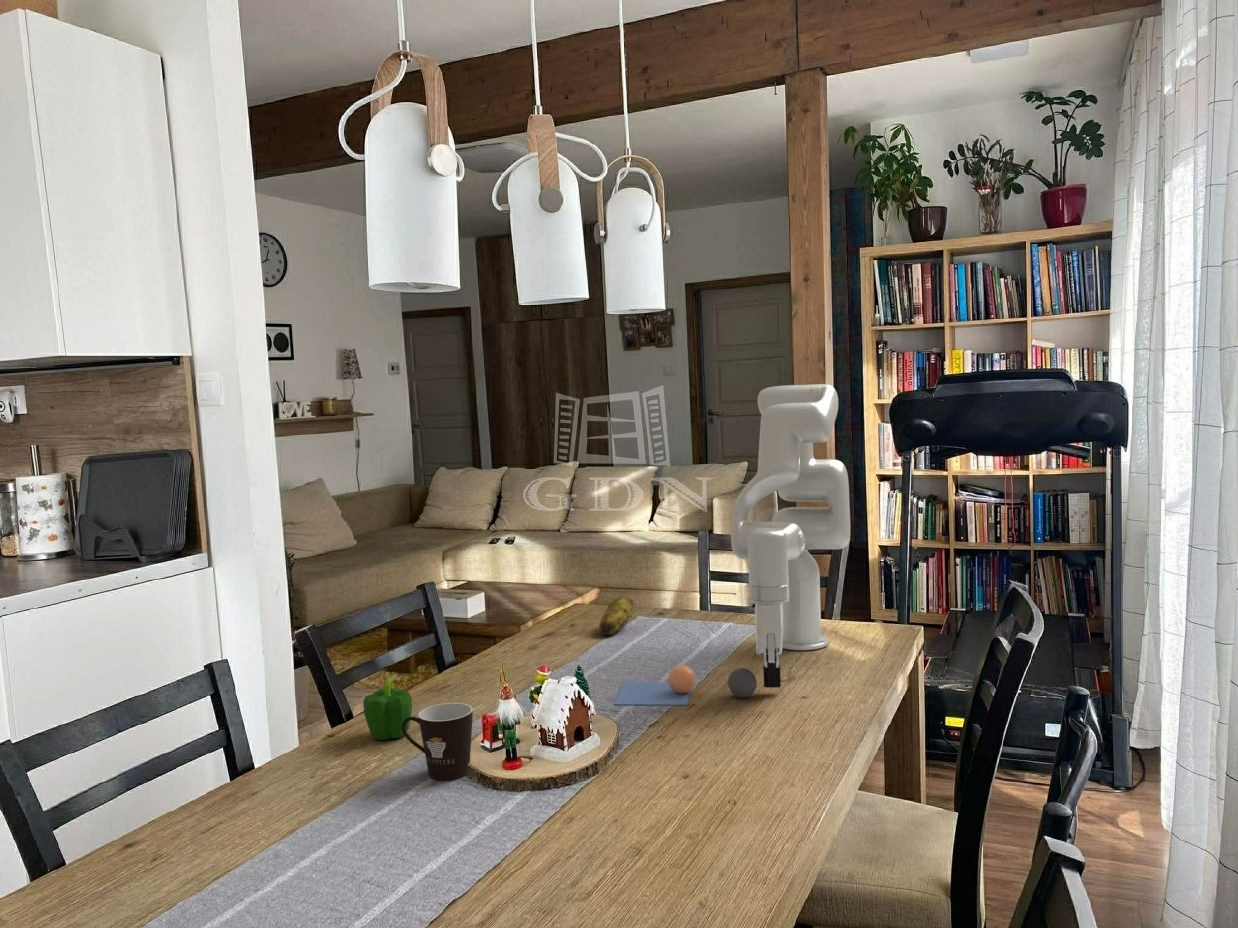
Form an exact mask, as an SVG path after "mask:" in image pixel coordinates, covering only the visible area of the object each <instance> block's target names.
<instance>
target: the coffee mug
mask: <svg viewBox="0 0 1238 928" xmlns="http://www.w3.org/2000/svg"><path fill="white" fill-rule="evenodd" d="M417 716H418V717H416V716H411V717H408V718H407V719H405V720H404V721H403V723H402V732H403V734H404V737H405V738H406V740H408V741H409V742H410V744H412V745H413V746H414V747H415V748H417V749H418V750H419V751H421V752H422V753H424V756H425V760H426V761H425V762H426V766H427V767H426V768H427V771H428V777H429V778H430V780H431V779H432V780H433V781H437V782H448V781H456V780H459V779H461V778H464V777H466V776H467V775H468V774H467V770H468V764H469V762H470V763H471V748H472V747H471V746H472V736H473V735H472V733H473V732H472V731H473V716H474V708H473V707H472V706H471V705H469V704H466V703H463V702H462V703H461V702H460V703H459V702H447V703H439V704H434V705H431V706H428V707H425V708H423V709H421V710H420V711H419V712H418V714H417ZM408 721H410V722H411V721H413V722H416V723H418V725H419V728H420V729H419V730H420V734H421V738H422V740H421V741H422V745H423V746H422V745H421V744H419V743H418V742H417V741H415V739H413V738H412V737H411V736H410V735H409V734H408V731H407V732H406V728H405V727H406V723H407V722H408Z"/></svg>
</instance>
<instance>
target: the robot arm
mask: <svg viewBox="0 0 1238 928" xmlns="http://www.w3.org/2000/svg"><path fill="white" fill-rule="evenodd" d="M757 406H758V411H759V413H760V415H761V417H760V425H759V427H760V429H759V444H758V459H757V460H758V461H757V472H756V474H755V475H754V476H753V478H751V480H749V481H748V482H747V484H746V485H745V486H744V487H743V488H742V489H741V492H740V493H739V495H738V496H737V498H736V500H735V503H734V507H733V511H732V521H731V522H732V523H731V534H730V536H731V537H730V538H731V539H730V540H731V541H730V543H731V544H730V545H731V549H732V552H733V554H734V555H735V557H737V558H739V559H741V560H747V562H748V589H749V592H748V593H749V601H750V602H751V603H753V604H755V605H754V625H755V627H754V628H755V631H754V632H755V649H756V650H755V652H756V654H757V655H758V656H761V654H763V656H764V657H763V659H764V664H762V665H763V667H762V669H763V670H762V671H763V687H764V688H769V689H770V688H772V689H773V688H776V689H777V688H781V685H782V683H781V682H782V681H781V680H782V679H781V665H780V663H779V661H780V660H779V658H780V657H779V656H780V655H782V653H783V650H790V651H812V650H819V649H823V648H824V647H827V646H828V645H829V637H828V636H826V635H824V634H822V619H821V618H822V617H821V616H822V615H821V614H822V613H821V612H822V611H821V585H820V584H821V583H820V582H821V580H820V579H821V577H820V568H819V565H818V562H817V561H816V559H815V557H813V556H812V554H811V553H810V552H809V551H808V550H842V549H844V548H846V547H847V546H848V545H849V543H850V539H851V509H850V487H849V486H850V485H849V475H848V470H847V468H846V466H845V464H844V463H843V462H842V461H840V460H838V459H831V458H830V459H829V458H827V459H816V458H815V457H814V443H825V442H827V441H828V440H829V439H830V437H831V435H832V432H833V430H834V426H835V423H836V419H837V415H838V411H839V397H838V393H837V391H836V389H835V387H834V386H832V385H830V384H828V383H827V384H826V383H822V384H821V383H820V384H819V383H818V384H817V383H815V384H792V385H791V384H790V385H789V384H788V385H779V386H778V385H775V386H770V387H769V386H768V387H766V388H763V389H762V390H760V392H759V393H758V395H757ZM775 492H777V494H778V496H779V497H780V499H781V500H783V501H786V502H797V503H798V502H801V503H802V502H805V503H807V502H808V503H809V502H812V503H813V502H815V503H818V502H819V503H820V502H821V503H822V502H823V503H826V505H828V507H827V506H824V507H823V506H822V507H820V506H819V507H818V506H816V507H815V506H791V507H784V508H782V509H779V510H777V511H776V512H775V513H774V514H773V516H772V518H771V519H772V520H771V521H748V520H749V515H750V513H751V510H752V508H754V506H755V505H756V504H757V503H758V502H759V501H761V499H763V498H765V497H767V496H768V495H770V494H772V493H775Z"/></svg>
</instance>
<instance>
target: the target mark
mask: <svg viewBox="0 0 1238 928" xmlns="http://www.w3.org/2000/svg"><path fill="white" fill-rule="evenodd" d="M690 696H691V691H690V692H688V693H686V694H678V693H676V692H674V691H673V690H672V689H671V688H670V686H669V684H668V681H624V682H623V684H622V685H621V688H620V691H619V693H618V695H617V697H616V700H615V702H614V706H688V705H689V700H690Z"/></svg>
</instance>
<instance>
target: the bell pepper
mask: <svg viewBox="0 0 1238 928" xmlns="http://www.w3.org/2000/svg"><path fill="white" fill-rule="evenodd" d="M392 682H393V678H392V677H388V678H387V679H386V680H385V684H384V689H383V688H379V689H377V690H376V691H374V692H373V693H372V694H368V695H365V697H364V700H363V704H362V705H363V706H362V707H363V714H364V718H365V721H366V724H367V726H368V729H369V732H370V734H371V737H373V738H374V739H375V740H378V741H384V740H385V741H386V740H388V739H400V738H403V737H405V735H404V734H403V732H402V723H403V721H404V720H405V719H407V718H408V717H412V712H413V698H412V696H411V694H410V691H406V690H403V689H401V688H399V686H398V687H397V686H396V687H393V688H391V687H392V685H391V684H392ZM410 725H411V721H408V722H407V723H406V727H405V728H406V732H407V733H408V731H409V729H410Z"/></svg>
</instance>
